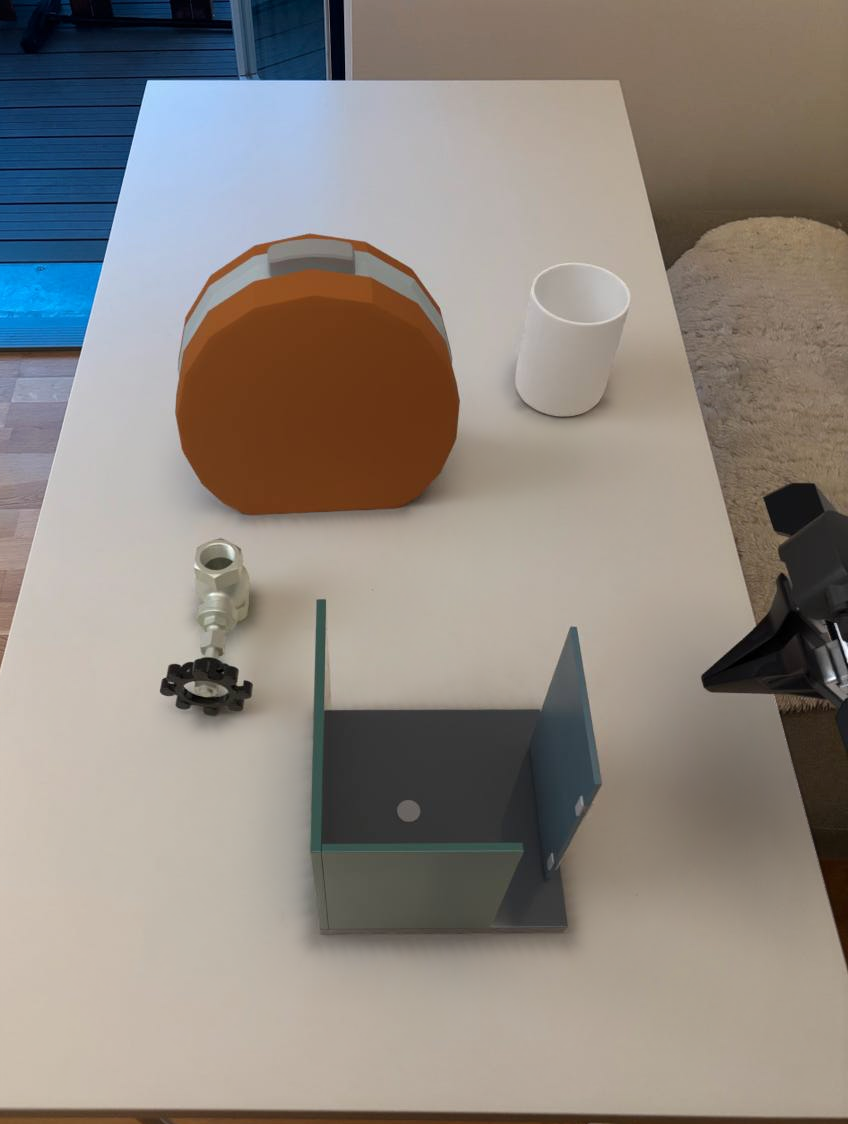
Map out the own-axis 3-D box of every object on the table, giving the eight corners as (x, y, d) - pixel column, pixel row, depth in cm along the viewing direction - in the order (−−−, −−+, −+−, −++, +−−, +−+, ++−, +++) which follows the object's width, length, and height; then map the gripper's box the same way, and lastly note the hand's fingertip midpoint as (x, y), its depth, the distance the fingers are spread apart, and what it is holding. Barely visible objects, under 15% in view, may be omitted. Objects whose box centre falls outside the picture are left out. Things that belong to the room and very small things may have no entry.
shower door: (553, 742, 66) (600, 626, 53) (571, 878, 60) (628, 784, 48) (527, 743, 65) (568, 626, 53) (543, 878, 60) (592, 784, 48)
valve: (190, 585, 75) (167, 714, 68) (177, 533, 69) (150, 668, 63) (271, 588, 75) (255, 718, 68) (264, 536, 69) (246, 672, 63)
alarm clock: (437, 425, 85) (460, 193, 66) (449, 505, 80) (479, 278, 61) (198, 435, 84) (152, 202, 65) (195, 517, 79) (143, 290, 60)
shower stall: (537, 716, 68) (578, 598, 56) (564, 932, 60) (620, 851, 47) (323, 717, 68) (316, 598, 56) (319, 934, 60) (309, 852, 47)
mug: (582, 333, 92) (607, 236, 84) (613, 416, 86) (642, 321, 77) (499, 339, 92) (514, 242, 83) (523, 423, 85) (542, 327, 76)
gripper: (871, 369, 48) (611, 509, 57) (1011, 675, 38) (668, 786, 47) (939, 474, 55) (697, 584, 64) (1074, 758, 44) (763, 841, 53)
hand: (704, 684), depth 57 cm, fingers closed
